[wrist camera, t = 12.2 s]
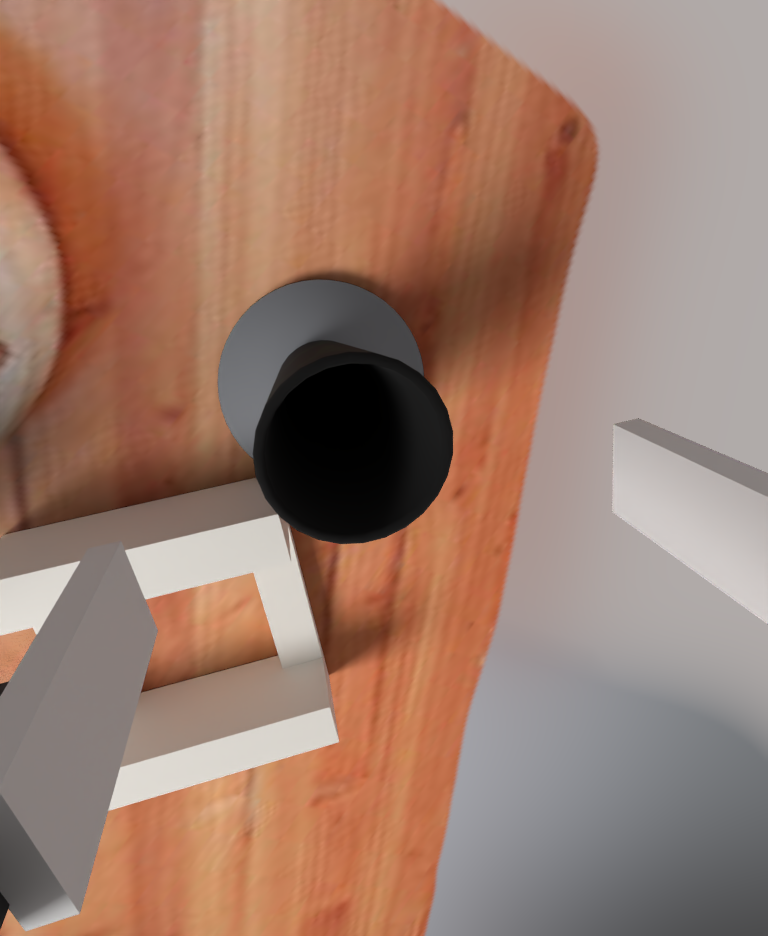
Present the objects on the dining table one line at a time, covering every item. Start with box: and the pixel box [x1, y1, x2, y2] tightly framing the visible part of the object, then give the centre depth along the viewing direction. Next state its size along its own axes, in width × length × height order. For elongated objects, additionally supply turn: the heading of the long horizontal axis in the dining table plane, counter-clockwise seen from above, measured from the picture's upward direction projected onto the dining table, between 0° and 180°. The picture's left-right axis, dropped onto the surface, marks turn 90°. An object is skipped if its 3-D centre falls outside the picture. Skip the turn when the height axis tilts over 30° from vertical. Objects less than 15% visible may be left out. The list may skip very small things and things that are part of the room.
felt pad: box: [218, 280, 424, 458], centre depth 32 cm, size 12×12×1 cm
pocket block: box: [0, 478, 339, 811], centre depth 33 cm, size 16×16×6 cm
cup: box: [253, 340, 453, 544], centre depth 26 cm, size 8×8×12 cm
